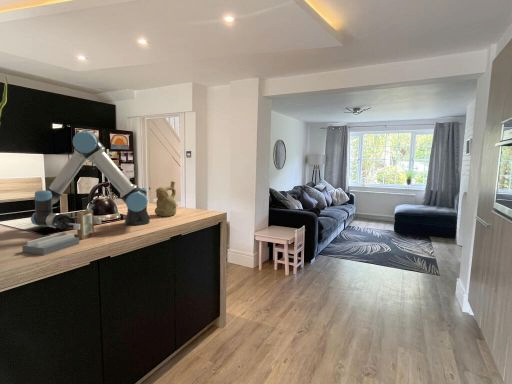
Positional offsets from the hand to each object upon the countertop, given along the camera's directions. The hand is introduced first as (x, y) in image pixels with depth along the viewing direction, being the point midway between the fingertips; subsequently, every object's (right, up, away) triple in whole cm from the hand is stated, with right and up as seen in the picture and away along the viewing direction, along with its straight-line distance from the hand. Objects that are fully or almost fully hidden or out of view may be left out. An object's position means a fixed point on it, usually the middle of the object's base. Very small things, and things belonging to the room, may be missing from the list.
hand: (90, 224), depth 151 cm
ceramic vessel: (+19, -1, +67) cm, 69 cm away
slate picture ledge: (-8, -9, -17) cm, 21 cm away
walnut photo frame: (-3, -7, +2) cm, 8 cm away
